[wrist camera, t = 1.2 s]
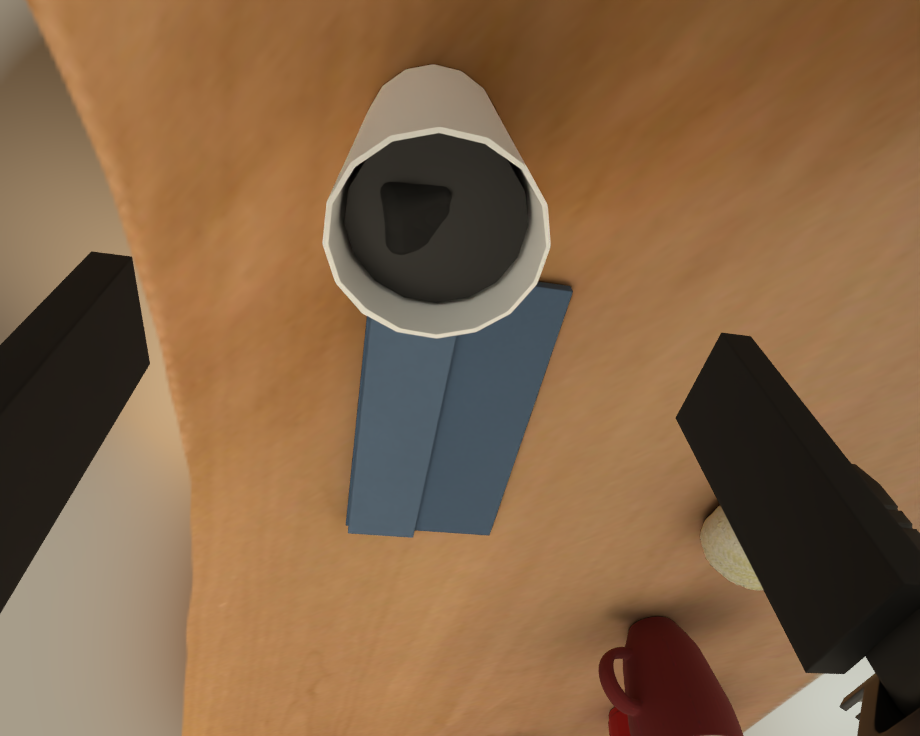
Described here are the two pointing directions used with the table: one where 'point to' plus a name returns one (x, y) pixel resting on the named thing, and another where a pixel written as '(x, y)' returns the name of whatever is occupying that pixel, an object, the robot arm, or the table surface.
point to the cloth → (447, 419)
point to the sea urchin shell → (726, 551)
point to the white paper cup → (435, 210)
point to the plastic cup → (618, 723)
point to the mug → (667, 684)
